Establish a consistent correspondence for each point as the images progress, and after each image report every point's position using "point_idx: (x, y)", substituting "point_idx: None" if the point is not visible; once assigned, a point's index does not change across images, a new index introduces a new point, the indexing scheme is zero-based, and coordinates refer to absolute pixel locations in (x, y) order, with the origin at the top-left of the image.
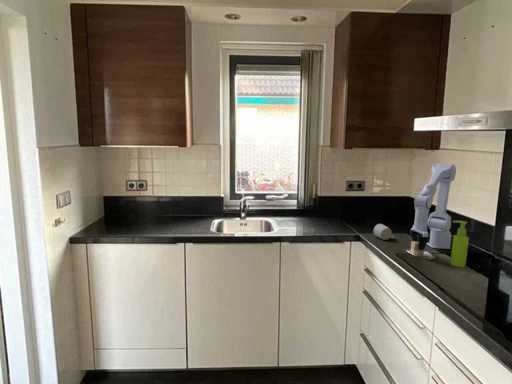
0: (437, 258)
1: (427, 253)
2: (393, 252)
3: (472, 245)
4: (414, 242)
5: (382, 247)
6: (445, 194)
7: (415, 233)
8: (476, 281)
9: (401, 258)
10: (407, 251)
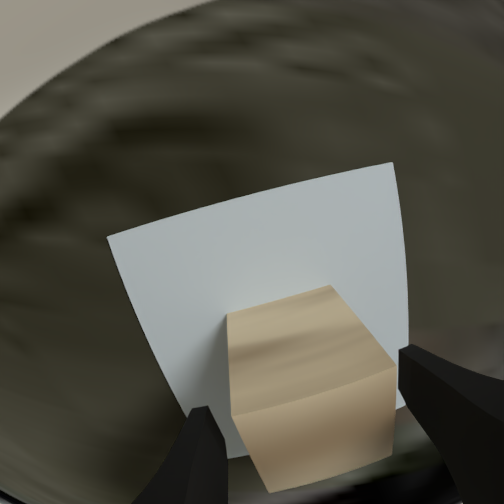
0: None
1: None
2: (262, 89)
3: None
4: (312, 410)
5: (399, 9)
6: None
7: (492, 469)
8: (5, 482)
9: (63, 181)
10: (366, 257)
